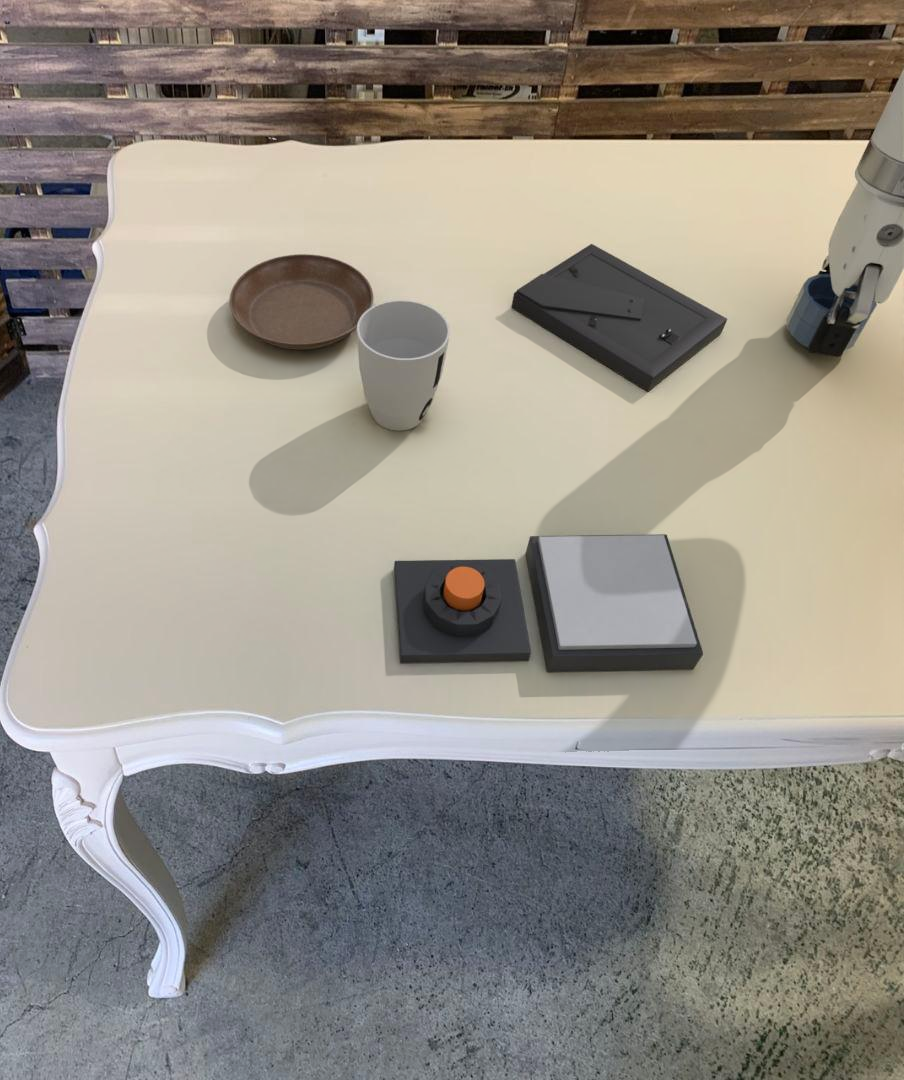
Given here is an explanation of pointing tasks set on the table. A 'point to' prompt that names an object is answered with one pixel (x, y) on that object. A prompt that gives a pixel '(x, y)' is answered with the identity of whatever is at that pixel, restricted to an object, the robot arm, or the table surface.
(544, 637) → the scale
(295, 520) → the table surface
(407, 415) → the cup
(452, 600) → the button
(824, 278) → the blue round container
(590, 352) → the picture frame
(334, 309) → the saucer
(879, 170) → the robot arm
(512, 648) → the panel
